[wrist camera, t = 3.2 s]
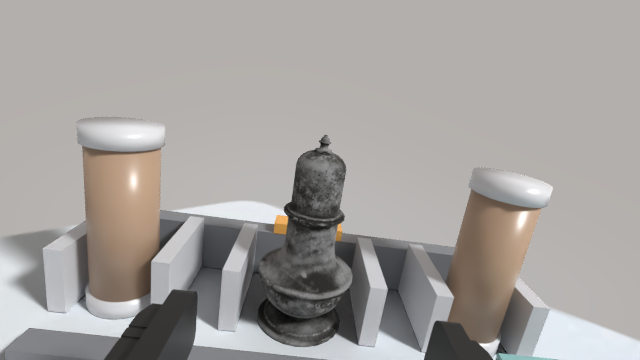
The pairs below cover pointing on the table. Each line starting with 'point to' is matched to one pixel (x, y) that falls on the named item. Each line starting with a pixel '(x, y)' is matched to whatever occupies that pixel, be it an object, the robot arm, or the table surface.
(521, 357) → the tray
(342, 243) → the fuse rail
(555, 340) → the table surface
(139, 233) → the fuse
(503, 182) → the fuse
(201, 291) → the table surface
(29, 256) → the table surface
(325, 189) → the salt shaker
